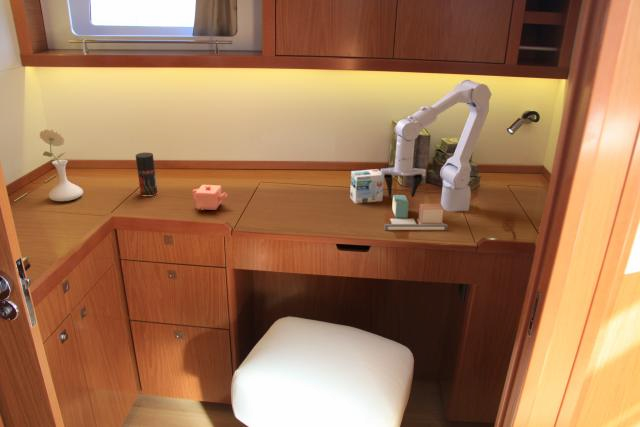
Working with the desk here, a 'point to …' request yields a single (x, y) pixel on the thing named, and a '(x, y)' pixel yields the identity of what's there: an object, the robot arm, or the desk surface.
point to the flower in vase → (60, 170)
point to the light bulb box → (366, 186)
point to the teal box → (400, 206)
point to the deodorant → (146, 173)
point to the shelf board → (413, 225)
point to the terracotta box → (431, 213)
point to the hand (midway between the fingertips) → (401, 195)
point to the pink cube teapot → (208, 197)
